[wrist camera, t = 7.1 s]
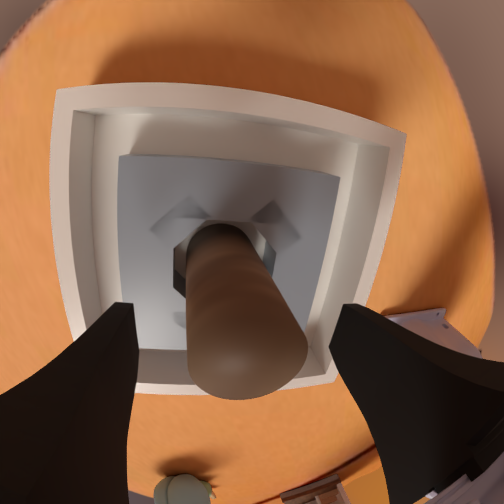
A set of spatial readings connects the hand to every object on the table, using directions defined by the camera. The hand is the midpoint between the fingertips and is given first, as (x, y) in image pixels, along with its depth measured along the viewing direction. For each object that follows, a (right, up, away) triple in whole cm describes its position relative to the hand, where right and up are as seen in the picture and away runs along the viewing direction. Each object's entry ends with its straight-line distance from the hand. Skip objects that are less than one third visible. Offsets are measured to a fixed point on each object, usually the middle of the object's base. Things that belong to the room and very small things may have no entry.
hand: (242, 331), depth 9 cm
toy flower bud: (-8, -29, +18) cm, 35 cm away
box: (-1, +3, +6) cm, 7 cm away
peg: (-1, +2, +6) cm, 7 cm away
